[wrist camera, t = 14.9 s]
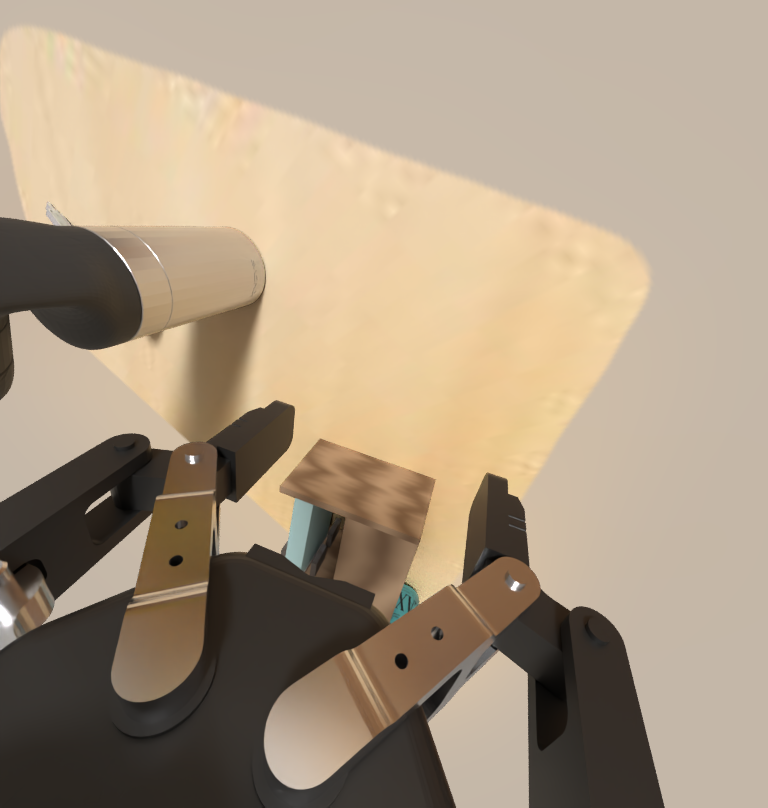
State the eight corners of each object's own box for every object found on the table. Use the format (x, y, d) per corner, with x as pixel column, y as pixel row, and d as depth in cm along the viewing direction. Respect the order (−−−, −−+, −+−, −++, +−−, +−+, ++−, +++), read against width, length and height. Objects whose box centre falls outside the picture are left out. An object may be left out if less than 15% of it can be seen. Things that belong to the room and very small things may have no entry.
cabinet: (309, 521, 60) (274, 575, 51) (320, 438, 51) (279, 485, 42) (406, 559, 57) (388, 624, 48) (435, 479, 49) (420, 539, 39)
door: (307, 527, 58) (274, 572, 49) (320, 456, 53) (287, 491, 44) (327, 535, 57) (298, 582, 48) (343, 464, 52) (313, 501, 43)
